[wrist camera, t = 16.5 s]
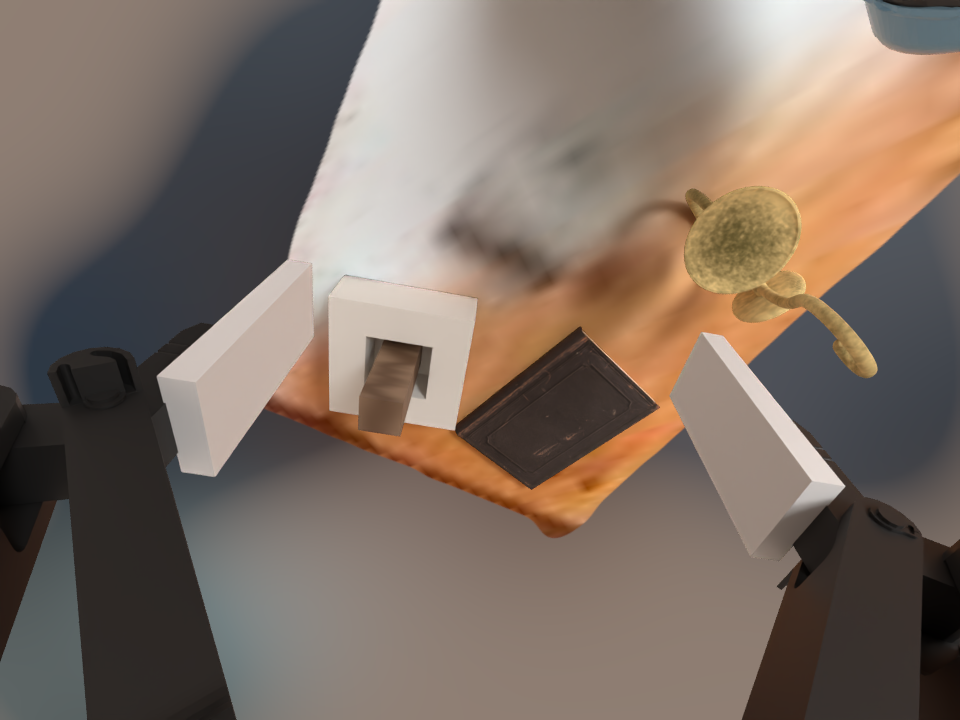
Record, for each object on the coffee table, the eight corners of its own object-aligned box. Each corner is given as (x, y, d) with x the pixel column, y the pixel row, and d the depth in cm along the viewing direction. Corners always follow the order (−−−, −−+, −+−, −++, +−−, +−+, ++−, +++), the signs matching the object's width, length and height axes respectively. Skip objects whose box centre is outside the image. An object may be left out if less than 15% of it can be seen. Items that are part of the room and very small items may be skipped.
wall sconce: (779, 244, 50) (980, 373, 29) (699, 297, 54) (825, 445, 33) (717, 141, 45) (906, 206, 24) (634, 208, 49) (733, 314, 28)
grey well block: (477, 298, 55) (475, 321, 50) (458, 401, 64) (454, 430, 59) (344, 274, 54) (328, 296, 49) (343, 382, 63) (329, 410, 58)
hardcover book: (655, 397, 63) (660, 408, 61) (530, 478, 72) (531, 490, 70) (579, 323, 57) (582, 332, 55) (455, 422, 67) (454, 433, 65)
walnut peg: (424, 334, 57) (403, 403, 45) (420, 363, 60) (400, 436, 48) (388, 328, 57) (358, 396, 45) (387, 357, 59) (358, 429, 48)
